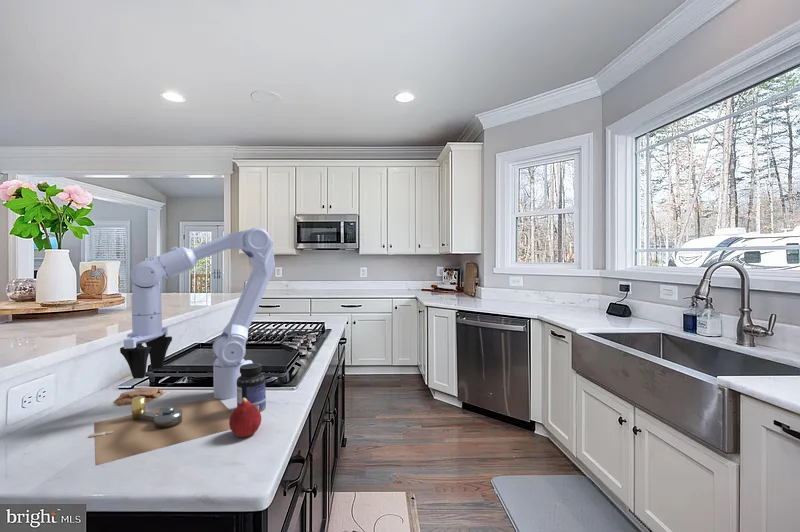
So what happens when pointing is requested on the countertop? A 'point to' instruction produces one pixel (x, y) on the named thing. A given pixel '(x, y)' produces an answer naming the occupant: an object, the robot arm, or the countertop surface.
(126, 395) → the cookie
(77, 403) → the countertop surface
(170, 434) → the brown cutting board
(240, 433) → the red rounded piece
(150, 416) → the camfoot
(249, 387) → the pill bottle
